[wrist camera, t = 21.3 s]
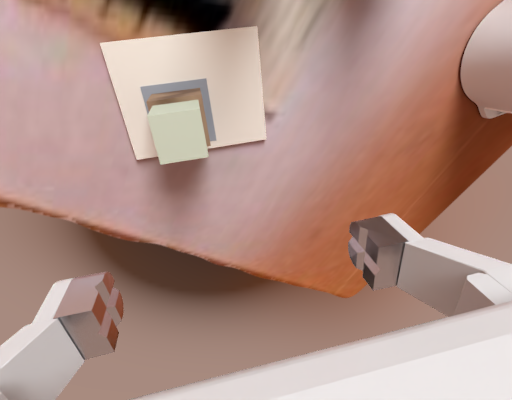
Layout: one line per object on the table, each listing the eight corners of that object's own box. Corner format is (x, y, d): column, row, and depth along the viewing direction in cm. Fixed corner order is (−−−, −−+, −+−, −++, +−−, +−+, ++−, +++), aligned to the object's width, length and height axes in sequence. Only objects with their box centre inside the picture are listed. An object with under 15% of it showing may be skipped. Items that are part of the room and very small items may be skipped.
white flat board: (256, 26, 36) (257, 25, 35) (265, 137, 43) (266, 139, 42) (101, 42, 34) (99, 43, 33) (137, 157, 41) (136, 160, 40)
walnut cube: (199, 87, 37) (201, 94, 33) (208, 134, 40) (210, 145, 36) (151, 94, 37) (146, 101, 32) (163, 141, 40) (160, 154, 35)
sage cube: (198, 99, 33) (199, 108, 29) (206, 142, 36) (208, 157, 31) (152, 105, 33) (147, 116, 28) (163, 149, 35) (160, 164, 31)
